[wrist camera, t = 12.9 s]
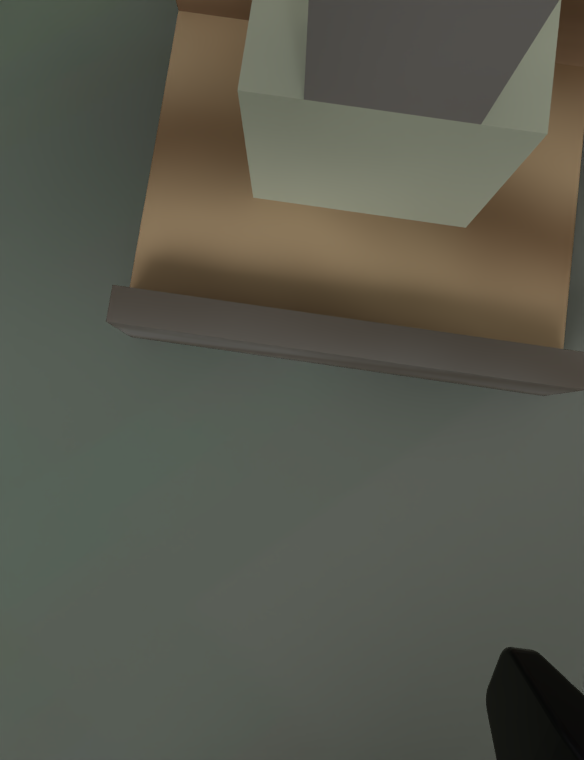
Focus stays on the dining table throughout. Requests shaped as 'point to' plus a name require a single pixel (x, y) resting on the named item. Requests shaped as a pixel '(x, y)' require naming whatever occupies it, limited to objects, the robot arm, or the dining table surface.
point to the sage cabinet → (395, 101)
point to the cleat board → (351, 244)
